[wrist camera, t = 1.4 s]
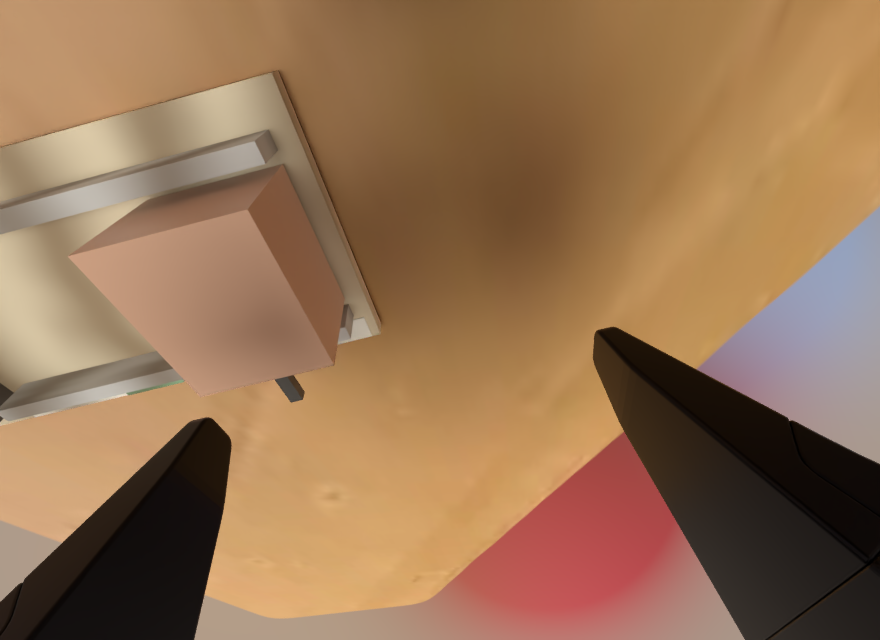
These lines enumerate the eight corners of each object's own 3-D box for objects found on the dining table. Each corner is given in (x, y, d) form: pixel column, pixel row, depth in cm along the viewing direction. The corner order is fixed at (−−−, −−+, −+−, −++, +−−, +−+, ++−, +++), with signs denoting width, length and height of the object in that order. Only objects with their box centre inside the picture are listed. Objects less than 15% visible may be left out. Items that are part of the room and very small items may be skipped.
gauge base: (277, 70, 15) (212, 95, 9) (381, 323, 23) (378, 418, 17) (-271, 222, 16) (-623, 325, 10) (12, 412, 24) (-102, 528, 18)
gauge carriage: (282, 163, 16) (247, 209, 12) (360, 333, 21) (354, 402, 18) (146, 199, 16) (67, 256, 12) (260, 357, 22) (232, 430, 18)
